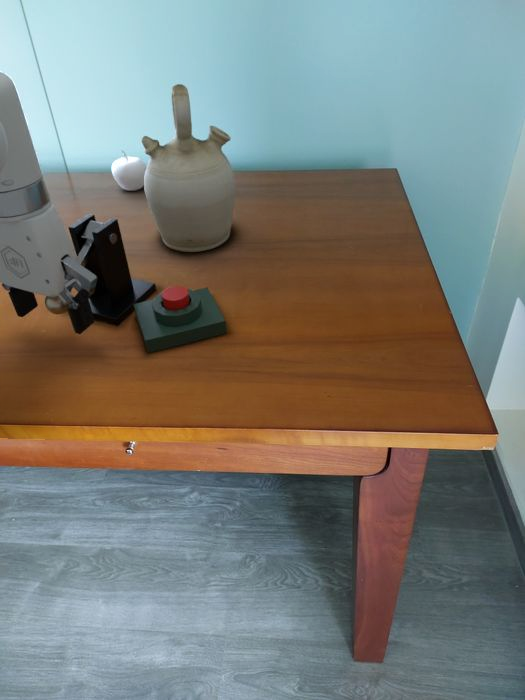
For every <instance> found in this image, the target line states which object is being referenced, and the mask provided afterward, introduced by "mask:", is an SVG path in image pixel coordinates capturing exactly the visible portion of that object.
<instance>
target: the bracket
mask: <svg viewBox="0 0 525 700" xmlns="http://www.w3.org/2000/svg"><path fill="white" fill-rule="evenodd" d="M90 221H95V222H97V219H96V217H95V214H92V213H88V214H86V215H85V216H83V217H82V218H80V219H78V220H77V221H75V222H74V223H73V224H71V225H69V226H68V227H67V228H68V231H69V234H70V238H71V241H72V242H71V243H72V246H73V249H74V253H75V256H76V257H77V256H78V255H79V253H80V251H81V249H82V248H83V246H84V244H85V241H84V240H83V238H82V237H81V236H82V234H83V232H84V231H85V229H86V227H87V225H88V224H89V222H90ZM92 235H93V238H94V242H95V246H96V248H95V249H94V251H93V253H92V255H91V257H90V258H89V260H88V262H87V264H86V265H85V268H86V269H87V270H89V271H90V272H92V273H93V274H95V275H96V277H97V283H96V287H95V292H94V294H93V295H92V296H91V298H90V299H89V303H90V306H91V310H92V313H93V316H94V320H96V321H99V322H102V323H103V322H104V323H107V324H111V325H115V326H119V325H120V324H122V322H123V321H124V320H125V319H127V318H128V317H129V316H130V315H131V314H132V313H133V312H135V309H134V304H137V303H141V302H145V301H147V299H148V298H149V297H150V296H151V295H153V293H154V292H156V291H157V287H156V283H155V282H151V281H147V280H142V279H139V278H134V277H132V276H131V272H130V267H129V263H128V258H127V255H126V249H125V245H124V242H123V241H124V240H123V237H122V233H121V229H120V224H119V220H118V219H117V218H110V219H109V220H107V221H106V222H104V223H103V225H101V226H100V227H99V228H97V229H96V230H94V231H93V232H92Z"/></svg>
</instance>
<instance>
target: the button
mask: <svg viewBox="0 0 525 700" xmlns="http://www.w3.org/2000/svg"><path fill="white" fill-rule="evenodd" d="M187 289H188V288H186V287H184V286H182V285H173V286H169V287H166V288H165V289H164V290H163V291H162V292H161V293H162V300H163V305H164V308H165V309H167V310H174V311H176V310H180V309H184V308H186V307H187V306H189V304H190V300H189V293H188V290H187Z"/></svg>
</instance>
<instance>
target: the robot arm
mask: <svg viewBox="0 0 525 700" xmlns="http://www.w3.org/2000/svg"><path fill="white" fill-rule="evenodd" d="M51 199H52V198H51V196H50V192H49V189H48V186H47V183H46V179H45V176H44V173H43V169H42V167H41V162H40V160H39V155H38V153H37V150H36V147H35V143H34V140H33V136H32V133H31V130H30V127H29V123H28V120H27V117H26V113H25V110H24V107H23V104H22V101H21V97H20V94H19V91H18V88H17V86H16V84H15V82H14V80H13V79H12V77H11V76H9V75H8V74H7V73H5V72H3V71H1V70H0V283H1V286H2V288H3V289H4V290H5V291H7V293H8V295H9V298H10V301H11V303H12V306H13V308H14V310H15V313H16V315H17V317H20V318H24V317H25V316H26V315H28V314H30V312H32V311H33V310H35V309H37V307H38V305H39V304H38V301H37V298H36V295H35V294H38V295H41V296H45V297H46V296H49V297H55V296H58V295H59V294H60V295H61V296H62V298H63V299H64V300H65V301H66V302H67V303H68V304H69V305H70V307H69V308H68V311H67V314H68V316H69V318H70V323H71V325H72V328H73V331H74V333H75V334H78V335H81V334H83V332H85V331H86V330H87V329H88V328H90V326H92V325H93V324H94V323H95V319H94V316H93V313H92V310H91V306H90V303H89V299H90V298H91V296H92V295H93V294H94V292H95V287H96V283H97V277H96V275H95V274H93V273H92V272H90V271H89V270H87V269H86V268H85V267H83V266H82V265H80V264H79V263H77V259H76V258H77V255H76V252H75V249H74V246H73V243H72V242H71V240H70V236H69V234H68V232H67V230H66V227H65V225H64V223H63V220H62V219H61V216H60V214H59V212H58V210H57V208H56V206H55V205H54V204H52V200H51ZM65 279H66V280H68V281H67V282H66V283H64V282H65ZM71 285H72V286H73V289H74V290H75V291H76V292H77V293H76V294H75V295H73V294H72V293H71V292H69V291H68V289H67V288H68V287H70V286H71Z"/></svg>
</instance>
